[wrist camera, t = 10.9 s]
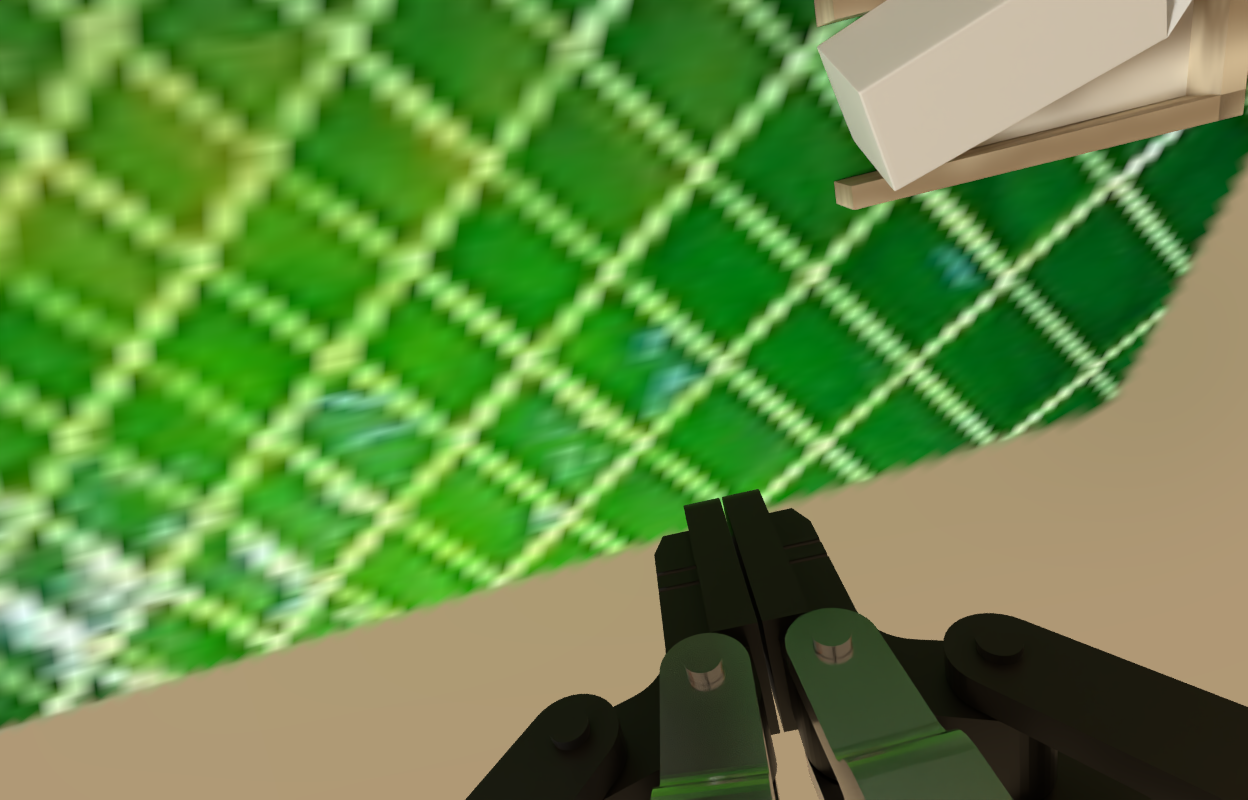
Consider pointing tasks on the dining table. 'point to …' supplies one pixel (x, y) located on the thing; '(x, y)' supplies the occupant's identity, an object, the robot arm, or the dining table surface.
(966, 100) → the milk carton
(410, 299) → the dining table surface
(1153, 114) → the u rest
